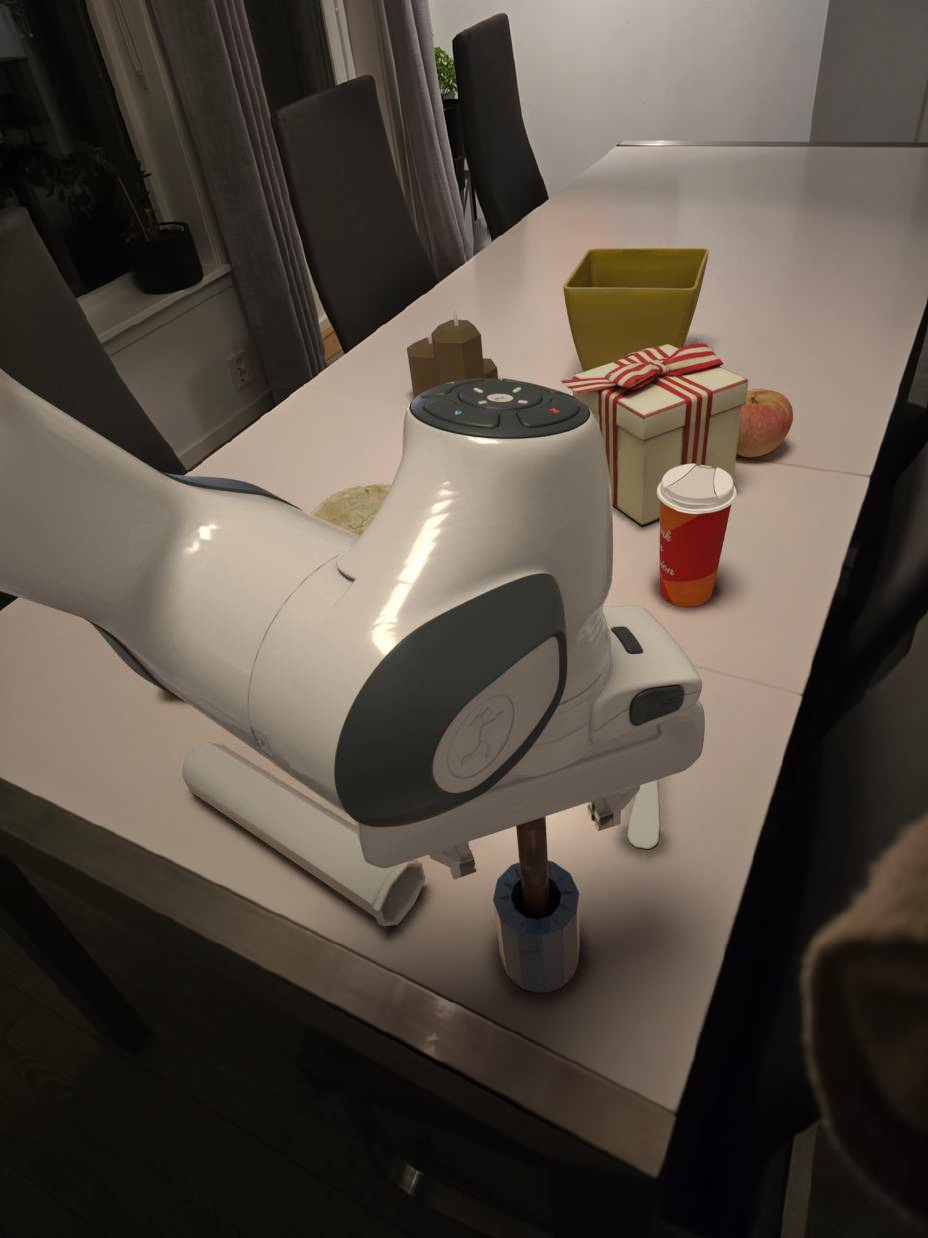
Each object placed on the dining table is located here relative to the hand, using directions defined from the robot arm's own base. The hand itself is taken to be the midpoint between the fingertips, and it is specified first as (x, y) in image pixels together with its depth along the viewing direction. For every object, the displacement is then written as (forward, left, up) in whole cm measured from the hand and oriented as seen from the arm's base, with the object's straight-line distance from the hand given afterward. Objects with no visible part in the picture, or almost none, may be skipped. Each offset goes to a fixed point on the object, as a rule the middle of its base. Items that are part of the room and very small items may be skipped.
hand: (533, 843), depth 50 cm
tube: (-16, +17, -14) cm, 27 cm away
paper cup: (+30, +33, -14) cm, 47 cm away
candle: (+22, +91, -14) cm, 95 cm away
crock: (0, 0, -14) cm, 14 cm away
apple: (+53, +56, -14) cm, 78 cm away
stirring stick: (0, 0, -13) cm, 13 cm away
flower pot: (+50, +86, -14) cm, 101 cm away
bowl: (-1, +48, -14) cm, 50 cm away
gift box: (+36, +55, -14) cm, 67 cm away
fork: (+16, +14, -14) cm, 26 cm away
